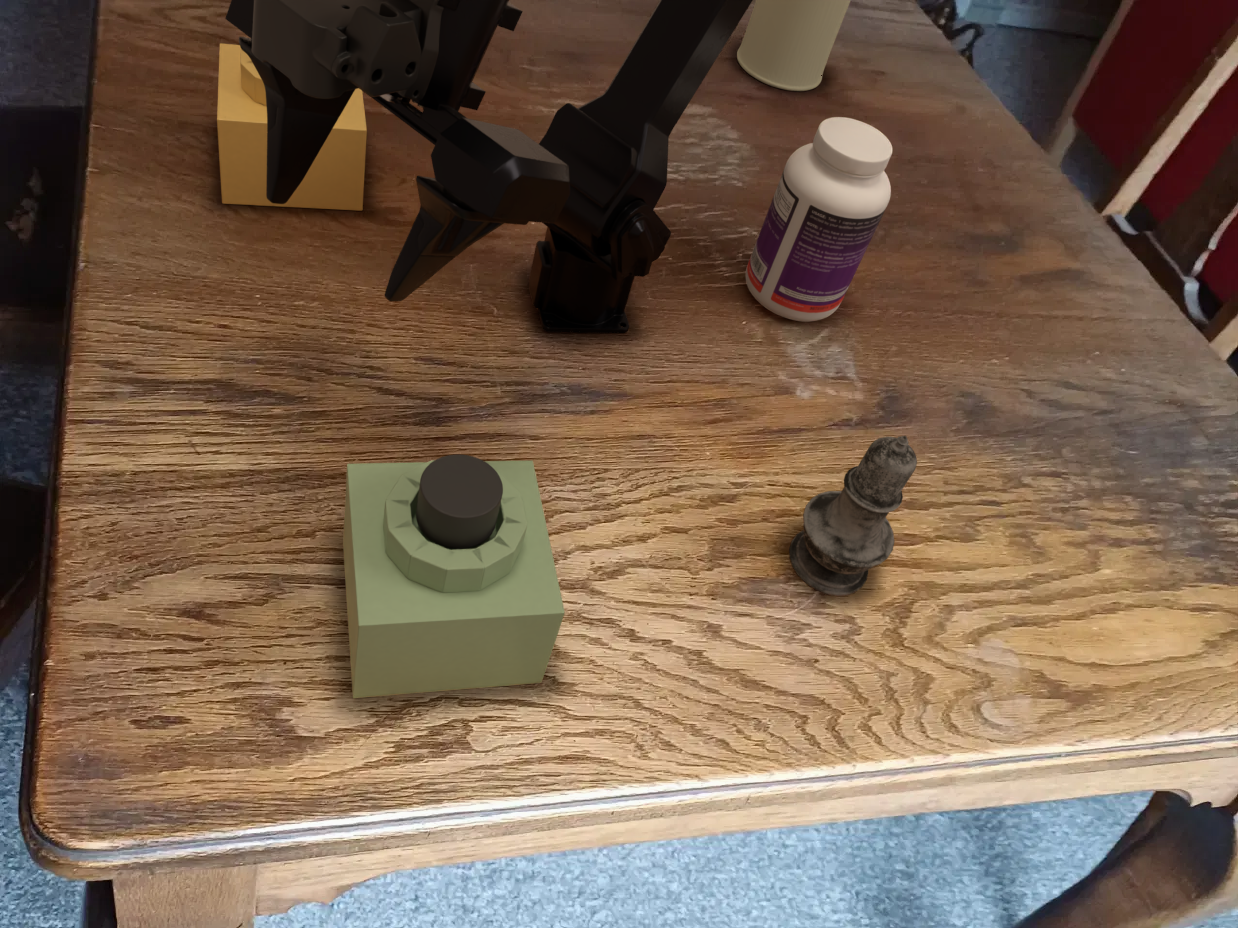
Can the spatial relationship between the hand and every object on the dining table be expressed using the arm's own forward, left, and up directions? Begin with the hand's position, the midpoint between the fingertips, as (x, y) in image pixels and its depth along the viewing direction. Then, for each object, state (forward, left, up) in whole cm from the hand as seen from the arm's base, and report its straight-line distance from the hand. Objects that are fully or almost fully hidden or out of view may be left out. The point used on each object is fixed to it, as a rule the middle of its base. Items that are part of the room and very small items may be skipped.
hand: (332, 249), depth 55 cm
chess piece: (-31, +10, -15) cm, 36 cm away
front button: (-6, +12, -7) cm, 15 cm away
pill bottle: (-37, -16, -15) cm, 43 cm away
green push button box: (-6, +12, -15) cm, 20 cm away
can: (-48, -52, -15) cm, 72 cm away
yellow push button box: (+1, -29, -15) cm, 32 cm away
